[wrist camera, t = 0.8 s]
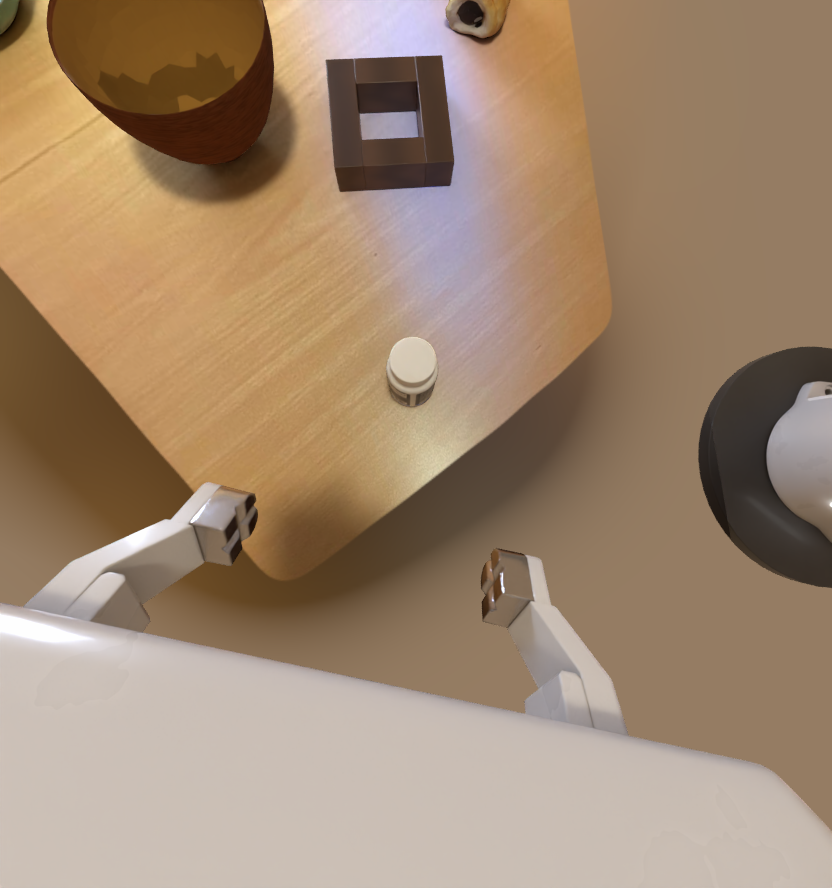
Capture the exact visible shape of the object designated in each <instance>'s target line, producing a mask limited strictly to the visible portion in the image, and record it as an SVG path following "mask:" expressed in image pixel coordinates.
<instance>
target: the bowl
mask: <svg viewBox="0 0 832 888" xmlns="http://www.w3.org/2000/svg"><path fill="white" fill-rule="evenodd" d="M47 31H48V37H49V43H50V45H51V48H52V51H53V54H54V56H55V58H56V60H57V62H58V64H59V65H60V67H61V69H62V71H63V72H64V73H65V74H66V75H67V77H68V78H69V79H70V80H71V82H72V83H73V84H74V85H75V86H76V87H77V88H78V89H79V91H80V92H81V93H82V94H83V95H84V96H85V97H86V98H87V99H88V100H89V101H90V102H91V103H92V104H93V105H94V106H95V107H96V108H97V109H98V110H99V111H100V112H101V113H102V114H104V115H105V116H106V117H107V118H108V119H109V120H111V121H112V122H113V123H114V124H115V125H117V126H118V127H119V128H121V129H122V130H123V131H125V132H126V133H128V134H130V135H131V136H133V137H134V138H136V139H137V140H139V141H141V142H142V143H144V144H146V145H148V146H150V147H152V148H154V149H155V150H157V151H160V152H162V153H164V154H167V155H169V156H172V157H174V158H177V159H179V160H182V161H186V162H190V163H195V164H217V163H224V162H230V161H233V160H235V159H237V158H238V157H239V156H241V155H242V154H243V153H244V152H245V151H247V150H248V149H249V148H250V147H251V146H252V145H253V144H254V143H255V141H256V140H257V138H258V137H259V135H260V134H261V132H262V130H263V128H264V126H265V124H266V121H267V117H268V114H269V110H270V105H271V99H272V93H273V76H274V61H273V47H272V39H271V33H270V29H269V24H268V20H267V15H266V11H265V7H264V4H263V0H50V1H49V5H48V12H47Z"/></svg>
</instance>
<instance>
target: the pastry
mask: <svg viewBox="0 0 832 888" xmlns="http://www.w3.org/2000/svg"><path fill="white" fill-rule="evenodd" d="M509 3H510V0H449V3H448V6H447V7H446V17H447V19H448V21H449V26H450V28H452V30H455V31H458V32H460V33H464V34H472V35H474V36H477V37H480V38H486V37H491V36H492V35H494V34H495V33H496V32H497V31H498V30H499V29H500V27H501V25H502V24H503V22H504V19H505V15H506V12H507V9H508V6H509Z"/></svg>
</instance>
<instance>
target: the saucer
mask: <svg viewBox="0 0 832 888" xmlns="http://www.w3.org/2000/svg"><path fill="white" fill-rule="evenodd" d="M18 4H19V0H0V35H1V34H2V33H3V32H4V31H5V30H6V29H7V28H8V27H9V26H10V25H11V23H12V22H13V20H14V18H15V16H16V13H17V10H18Z"/></svg>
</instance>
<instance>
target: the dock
mask: <svg viewBox="0 0 832 888" xmlns="http://www.w3.org/2000/svg"><path fill="white" fill-rule="evenodd" d="M326 70H327V82H328V94H329V106H330V118H331V131H332V143H333V155H334V167H335V172H336V176H337V181H338V186H339V190H340V191H355V190H376V189H394V188H412V187H424V186H425V187H427V186H445V185H450V184H451V178H452V172H453V166H454V155H453V147H452V138H451V129H450V121H449V112H448V103H447V95H446V86H445V77H444V69H443V60H442V56H415V57H414V56H412V57H385V58H358V59H334V60H326ZM415 110H416V112H417V122H418V131H419V137H415V138H394V139H374V140H362V136H361V125H360V114H359V113H371V112H393V111H415Z"/></svg>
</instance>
